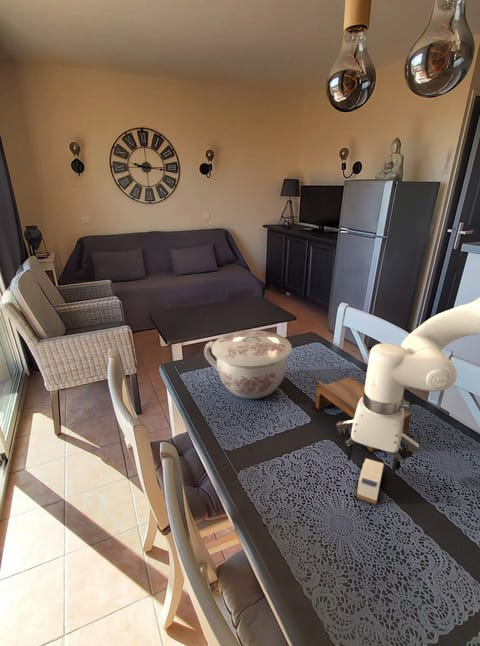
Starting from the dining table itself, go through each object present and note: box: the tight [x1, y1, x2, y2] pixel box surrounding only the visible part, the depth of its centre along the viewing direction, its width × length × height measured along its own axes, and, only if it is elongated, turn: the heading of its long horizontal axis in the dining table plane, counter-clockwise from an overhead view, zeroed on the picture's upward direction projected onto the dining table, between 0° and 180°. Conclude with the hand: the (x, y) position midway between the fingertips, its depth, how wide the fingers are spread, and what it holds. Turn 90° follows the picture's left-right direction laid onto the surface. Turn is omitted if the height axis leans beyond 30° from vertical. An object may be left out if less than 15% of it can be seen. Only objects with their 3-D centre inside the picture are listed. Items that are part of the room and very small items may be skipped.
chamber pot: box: [203, 329, 293, 400], centre depth 126 cm, size 28×28×21 cm
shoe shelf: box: [315, 376, 412, 453], centre depth 109 cm, size 14×24×10 cm, turn 28°
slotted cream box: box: [356, 458, 385, 505], centre depth 87 cm, size 10×4×6 cm, turn 153°
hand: (371, 463), depth 83 cm, fingers open, 9 cm apart
